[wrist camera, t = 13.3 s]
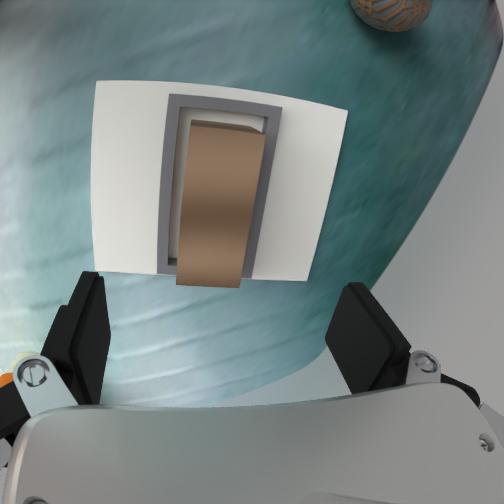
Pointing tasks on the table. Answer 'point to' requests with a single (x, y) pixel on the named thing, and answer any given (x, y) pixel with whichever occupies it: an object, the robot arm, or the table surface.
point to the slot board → (173, 169)
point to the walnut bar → (217, 202)
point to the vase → (392, 13)
